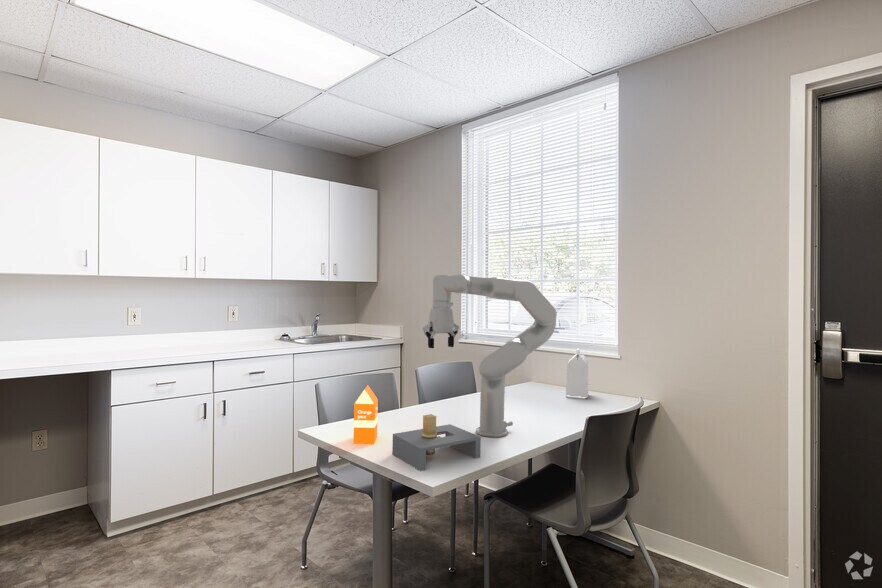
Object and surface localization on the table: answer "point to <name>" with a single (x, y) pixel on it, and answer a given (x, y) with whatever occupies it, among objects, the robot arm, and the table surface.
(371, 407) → the orange juice
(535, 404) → the table surface
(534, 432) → the table surface
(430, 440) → the keyhole board
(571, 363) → the milk
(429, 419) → the brass peg
